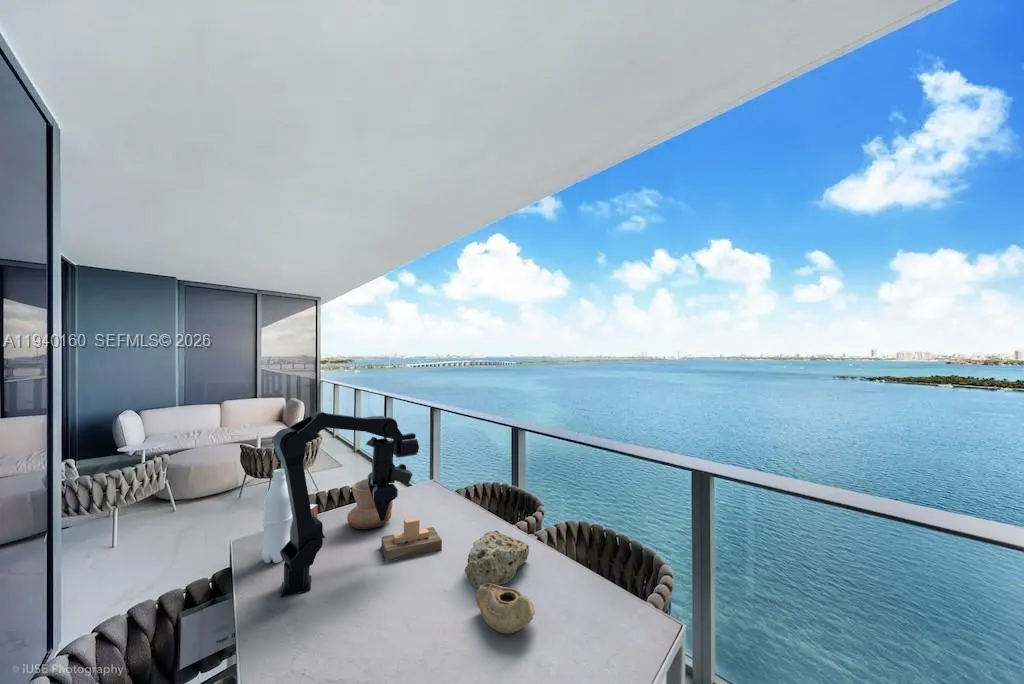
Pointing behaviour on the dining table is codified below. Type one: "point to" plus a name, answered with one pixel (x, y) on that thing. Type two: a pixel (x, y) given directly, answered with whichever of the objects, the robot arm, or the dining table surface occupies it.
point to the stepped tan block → (411, 532)
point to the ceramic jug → (365, 508)
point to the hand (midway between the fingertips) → (380, 514)
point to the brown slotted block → (410, 546)
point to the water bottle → (276, 518)
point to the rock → (495, 559)
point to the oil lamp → (504, 608)
